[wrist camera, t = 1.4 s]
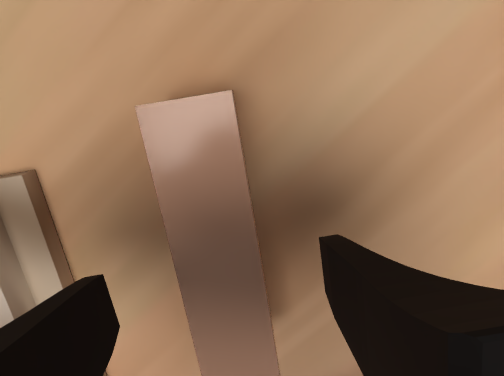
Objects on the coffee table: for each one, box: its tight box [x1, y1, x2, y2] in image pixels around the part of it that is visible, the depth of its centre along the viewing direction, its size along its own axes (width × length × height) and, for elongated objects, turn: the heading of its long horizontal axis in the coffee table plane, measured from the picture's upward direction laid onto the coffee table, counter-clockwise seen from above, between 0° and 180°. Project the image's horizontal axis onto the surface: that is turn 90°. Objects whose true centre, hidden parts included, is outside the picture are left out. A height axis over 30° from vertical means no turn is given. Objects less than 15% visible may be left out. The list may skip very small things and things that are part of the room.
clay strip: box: [135, 90, 280, 376], centre depth 15 cm, size 12×3×5 cm, turn 9°
